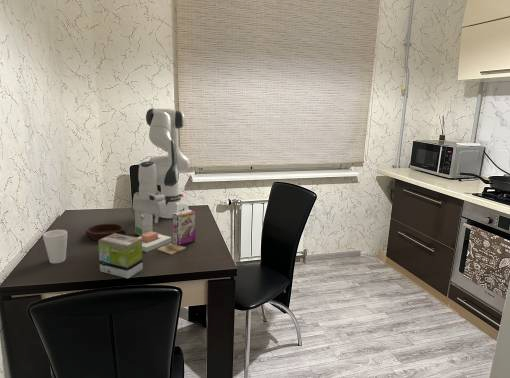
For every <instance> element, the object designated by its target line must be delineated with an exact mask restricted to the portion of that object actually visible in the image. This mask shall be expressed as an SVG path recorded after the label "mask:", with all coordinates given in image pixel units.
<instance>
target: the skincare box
mask: <svg viewBox="0 0 510 378" xmlns="http://www.w3.org/2000/svg"><path fill="white" fill-rule="evenodd" d="M143 215H144V216H145V219H144V220H141V219H140V215H139V213H138V211H137V210H134V231H135V232H134V233H135V234H137V235H138V236H139V237H140V236H141V235H143V234H146V233H148V232H151V231H152V232H153V214H150V213H146V212H143Z"/></svg>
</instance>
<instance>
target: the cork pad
mask: <svg viewBox="0 0 510 378" xmlns="http://www.w3.org/2000/svg"><path fill="white" fill-rule="evenodd" d="M186 248H187V247H186V246H183V245H176V244H174V243H173V242H170V243H168V244H165V245H163V246H161V247H158V248H156V251H158V252H162V253H165V254H168V255H174V254H176V253H179V252H181V251H183V250H185V249H186Z"/></svg>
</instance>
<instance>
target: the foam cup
mask: <svg viewBox="0 0 510 378" xmlns="http://www.w3.org/2000/svg"><path fill="white" fill-rule="evenodd" d="M42 238H43V239H42V241H44V246H45V250H46V253H47V257H48V260H49V263H50V264H60V263H63V262H65V261H66V260H65V259H66V258H67V244H68V242H67V241H68V231H67V229H66V230H65V229H53V230H49V231H46V232H44V233H43V234H42Z"/></svg>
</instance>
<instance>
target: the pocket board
mask: <svg viewBox="0 0 510 378" xmlns="http://www.w3.org/2000/svg"><path fill="white" fill-rule="evenodd" d="M137 238H141V236H140V235H139V236H137ZM170 243H173V236H172V237H171V236H168V235H163V234H161V233H158V239H157V240H155V241H152V242H149V243H145V242H142V252H145V253H148V252H150V251H152V250H155V249H156V250H157V249H158V248H160V247H163V246H165V245H168V244H170Z"/></svg>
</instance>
